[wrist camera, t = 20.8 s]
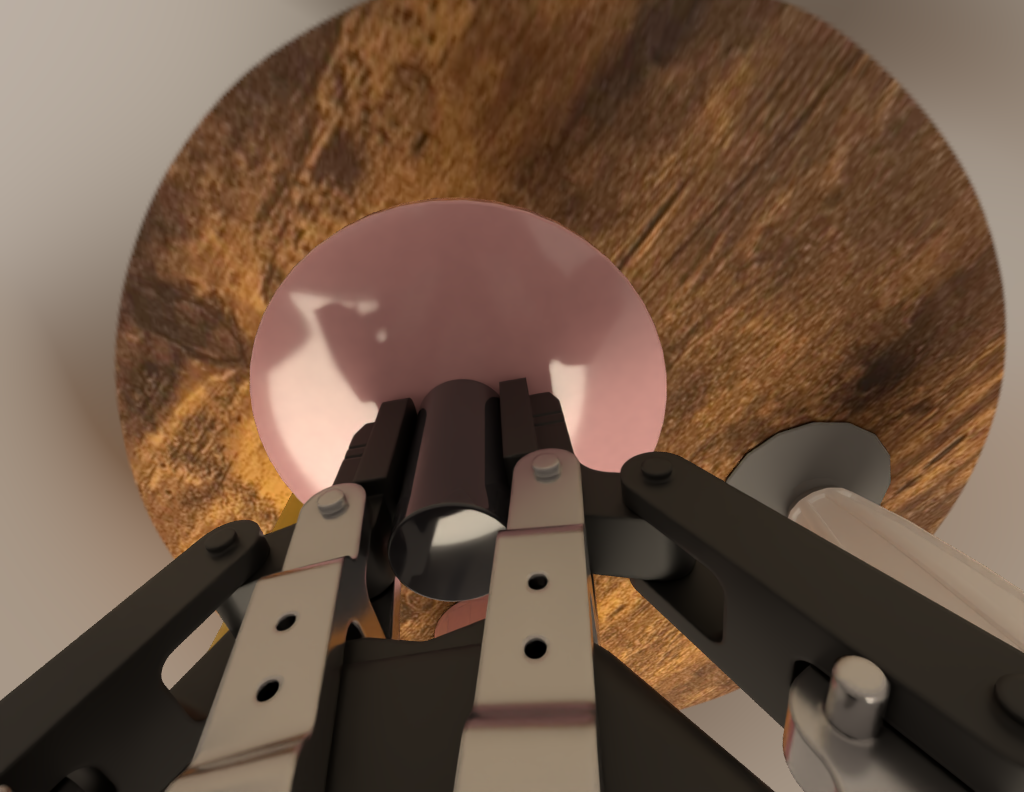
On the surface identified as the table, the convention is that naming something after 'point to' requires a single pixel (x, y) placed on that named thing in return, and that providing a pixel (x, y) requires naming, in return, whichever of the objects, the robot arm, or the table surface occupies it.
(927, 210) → the table surface
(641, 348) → the lid
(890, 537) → the cup
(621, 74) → the table surface
